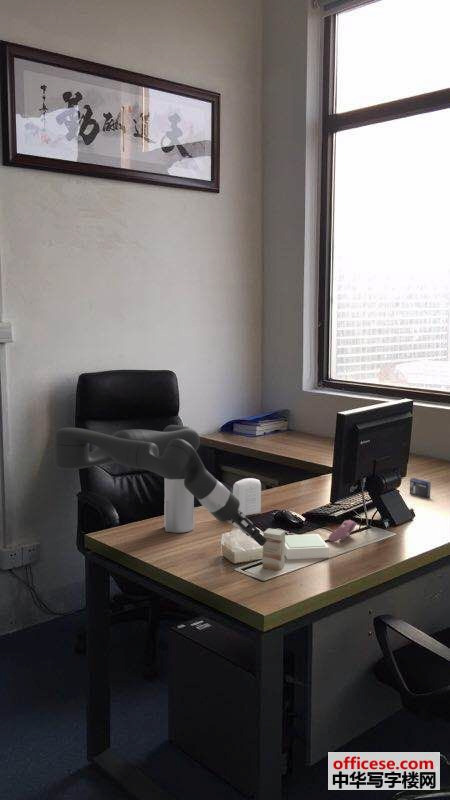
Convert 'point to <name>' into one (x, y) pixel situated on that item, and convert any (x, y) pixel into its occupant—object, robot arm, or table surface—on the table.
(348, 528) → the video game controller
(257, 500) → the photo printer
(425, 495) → the mini dv tape
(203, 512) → the table surface
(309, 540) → the plinth
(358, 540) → the table surface
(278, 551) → the skincare box
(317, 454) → the table surface
